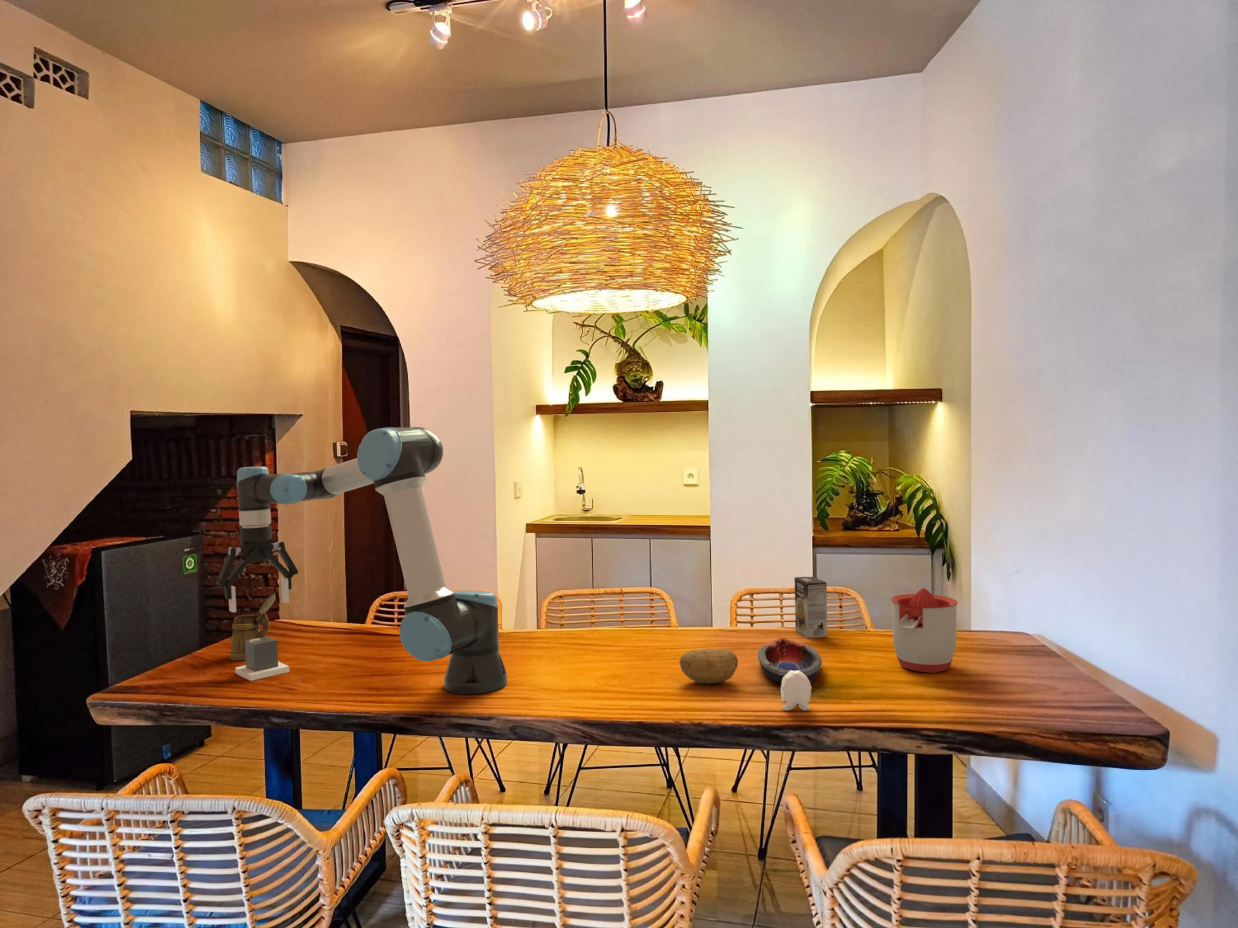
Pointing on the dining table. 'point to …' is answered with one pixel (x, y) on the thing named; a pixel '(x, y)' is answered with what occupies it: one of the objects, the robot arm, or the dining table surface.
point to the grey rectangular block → (261, 654)
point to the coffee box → (811, 607)
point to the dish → (788, 659)
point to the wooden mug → (249, 629)
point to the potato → (709, 665)
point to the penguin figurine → (795, 690)
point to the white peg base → (261, 672)
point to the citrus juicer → (924, 631)
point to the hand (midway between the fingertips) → (259, 606)
